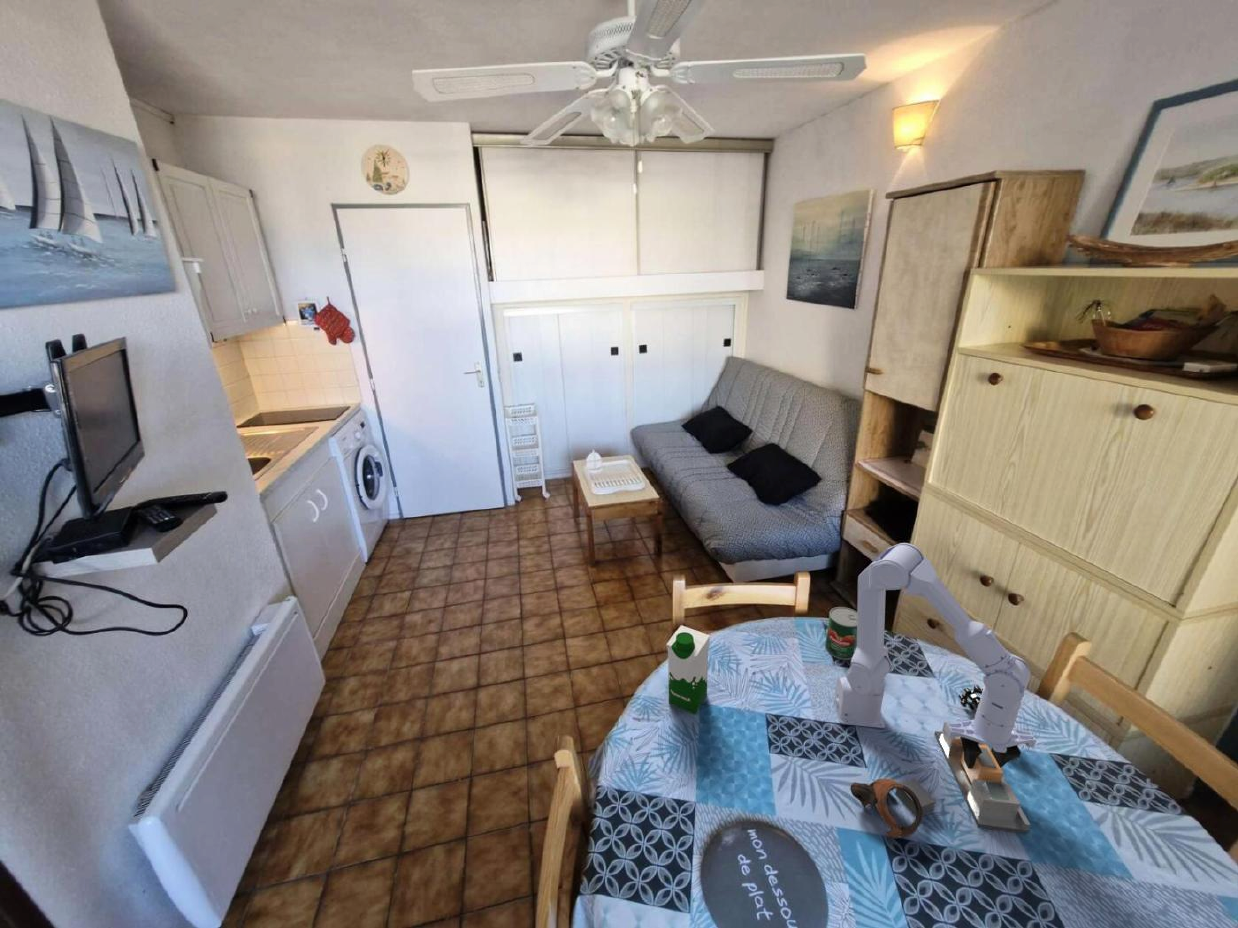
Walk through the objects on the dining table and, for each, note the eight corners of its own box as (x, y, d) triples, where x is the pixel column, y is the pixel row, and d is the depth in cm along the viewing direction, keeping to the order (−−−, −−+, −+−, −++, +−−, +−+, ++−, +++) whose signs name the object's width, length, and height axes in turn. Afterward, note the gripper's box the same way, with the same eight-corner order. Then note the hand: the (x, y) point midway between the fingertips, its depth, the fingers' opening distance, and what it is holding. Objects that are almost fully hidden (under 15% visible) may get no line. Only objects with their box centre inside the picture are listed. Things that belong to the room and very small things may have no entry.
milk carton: (663, 703, 122) (662, 637, 115) (680, 679, 129) (680, 615, 122) (697, 719, 117) (698, 651, 110) (712, 692, 124) (714, 627, 117)
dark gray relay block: (915, 818, 95) (918, 807, 94) (895, 793, 99) (897, 783, 98) (932, 811, 96) (935, 801, 95) (911, 787, 100) (914, 777, 99)
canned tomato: (828, 658, 133) (833, 624, 129) (822, 638, 141) (826, 605, 137) (860, 661, 132) (865, 627, 128) (852, 640, 139) (857, 607, 135)
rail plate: (977, 827, 93) (985, 805, 91) (934, 734, 111) (939, 714, 109) (1026, 833, 91) (1035, 811, 89) (974, 738, 110) (980, 718, 107)
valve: (1019, 753, 106) (985, 707, 117) (1027, 730, 104) (991, 685, 115) (986, 752, 107) (955, 706, 118) (993, 729, 104) (961, 684, 115)
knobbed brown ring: (902, 790, 100) (925, 785, 94) (905, 847, 94) (930, 846, 88) (841, 769, 102) (860, 762, 95) (840, 824, 96) (860, 821, 89)
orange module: (974, 788, 98) (980, 769, 96) (960, 760, 103) (966, 741, 101) (997, 791, 97) (1003, 771, 95) (982, 763, 103) (988, 744, 101)
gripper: (963, 727, 92) (948, 779, 97) (1052, 737, 90) (1033, 789, 95) (946, 697, 99) (934, 747, 104) (1030, 705, 96) (1012, 756, 101)
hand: (980, 765), depth 100 cm, fingers closed on orange module, 4 cm apart
